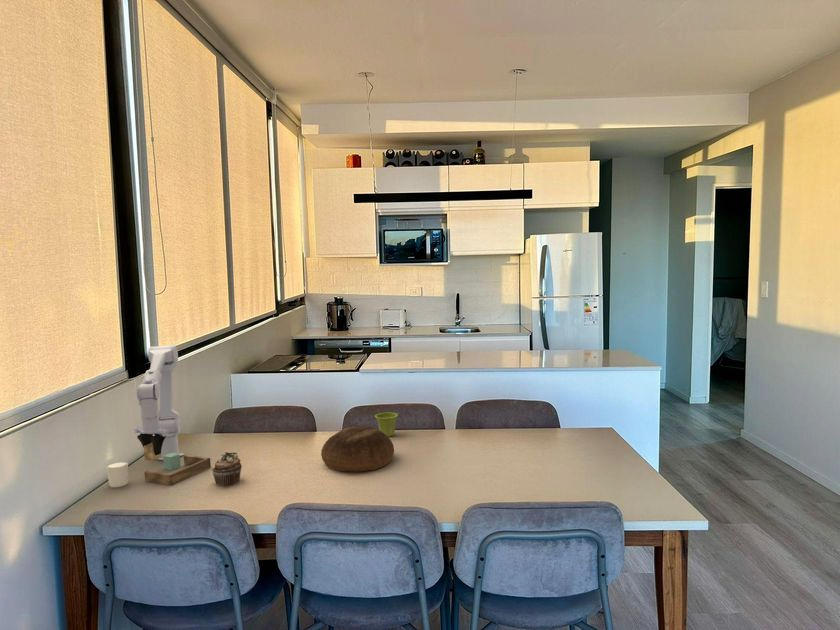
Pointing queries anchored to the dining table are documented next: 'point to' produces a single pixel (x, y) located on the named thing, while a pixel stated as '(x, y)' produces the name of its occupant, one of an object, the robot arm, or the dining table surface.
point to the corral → (180, 471)
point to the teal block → (171, 461)
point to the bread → (357, 449)
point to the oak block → (150, 453)
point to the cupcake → (227, 469)
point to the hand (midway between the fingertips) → (153, 453)
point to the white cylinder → (117, 474)
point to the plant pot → (387, 423)
